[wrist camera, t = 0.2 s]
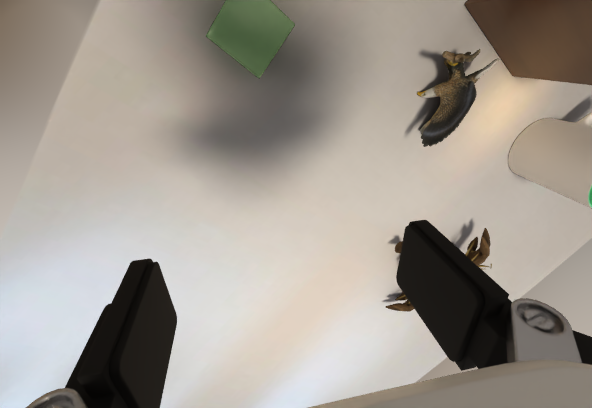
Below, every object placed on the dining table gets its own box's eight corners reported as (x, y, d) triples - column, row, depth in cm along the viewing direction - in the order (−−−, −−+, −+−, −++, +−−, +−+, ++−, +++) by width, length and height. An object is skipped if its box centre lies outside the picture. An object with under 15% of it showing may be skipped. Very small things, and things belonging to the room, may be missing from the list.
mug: (573, 77, 35) (689, 89, 26) (597, 114, 39) (707, 135, 30) (497, 157, 39) (576, 190, 30) (525, 184, 42) (604, 221, 33)
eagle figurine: (403, 58, 29) (401, 146, 32) (483, 42, 24) (472, 149, 27) (435, 59, 34) (430, 137, 37) (508, 47, 29) (496, 138, 32)
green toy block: (240, -15, 25) (241, -28, 21) (285, 27, 27) (295, 24, 23) (210, 37, 26) (205, 36, 22) (255, 73, 28) (259, 79, 24)
